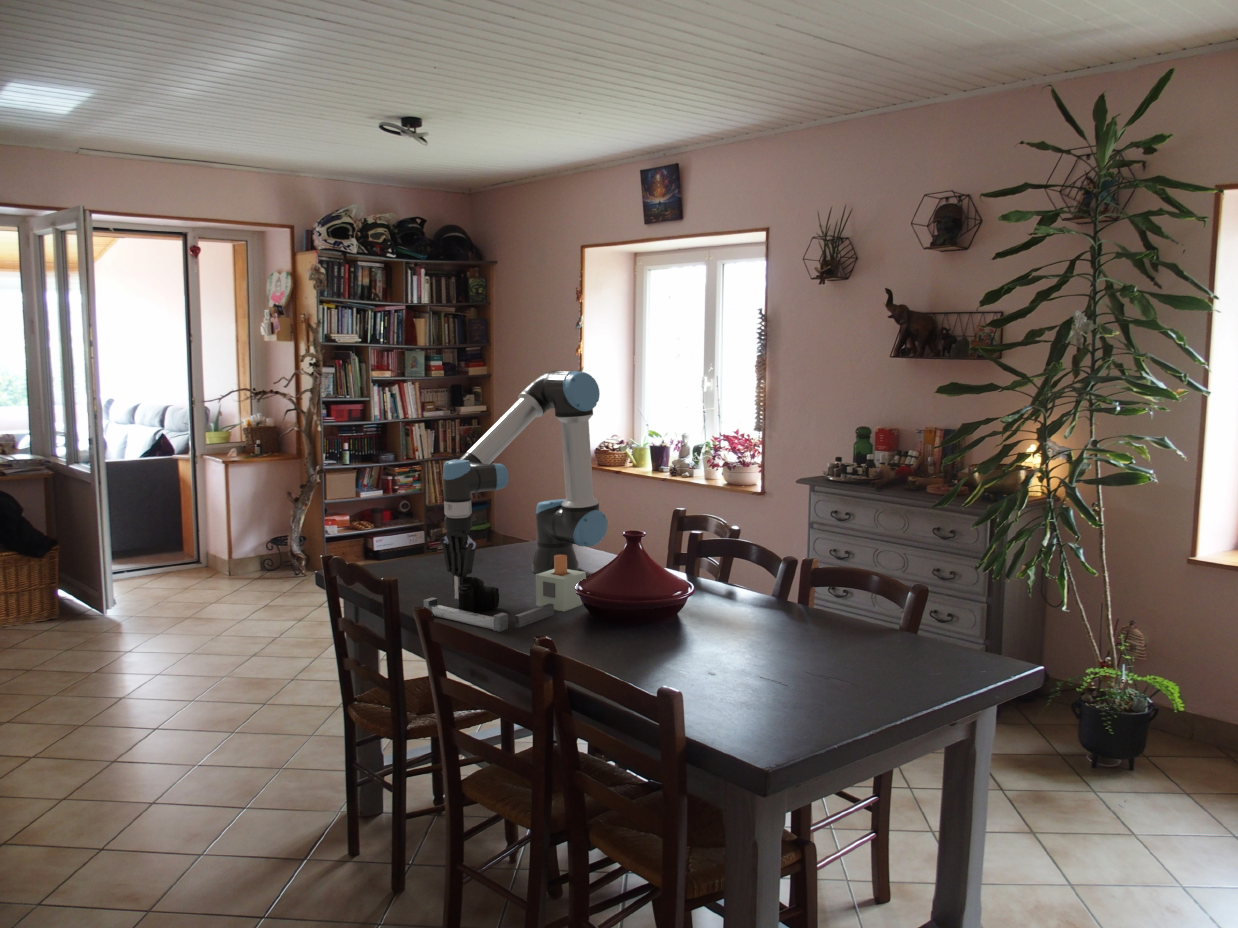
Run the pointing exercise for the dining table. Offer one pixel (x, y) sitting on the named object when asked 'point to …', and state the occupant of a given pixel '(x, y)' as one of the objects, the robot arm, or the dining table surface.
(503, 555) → the dining table surface
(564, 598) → the cabinet
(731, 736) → the dining table surface
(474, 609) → the film camera
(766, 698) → the dining table surface
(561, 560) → the gauge button
